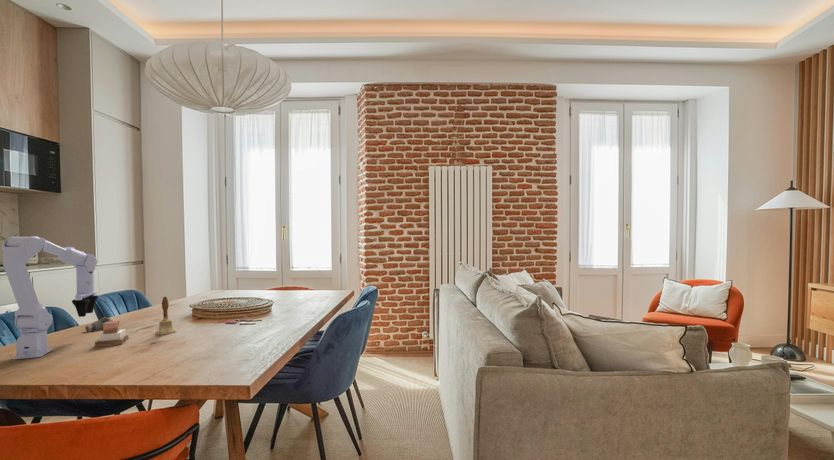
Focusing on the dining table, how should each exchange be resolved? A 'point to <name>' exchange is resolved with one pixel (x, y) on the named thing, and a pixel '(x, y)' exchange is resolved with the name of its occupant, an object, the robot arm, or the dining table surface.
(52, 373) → the dining table surface
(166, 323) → the hand bell
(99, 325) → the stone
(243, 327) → the dining table surface
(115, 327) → the block
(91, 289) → the robot arm
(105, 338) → the white flat square slab
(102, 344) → the tower base
